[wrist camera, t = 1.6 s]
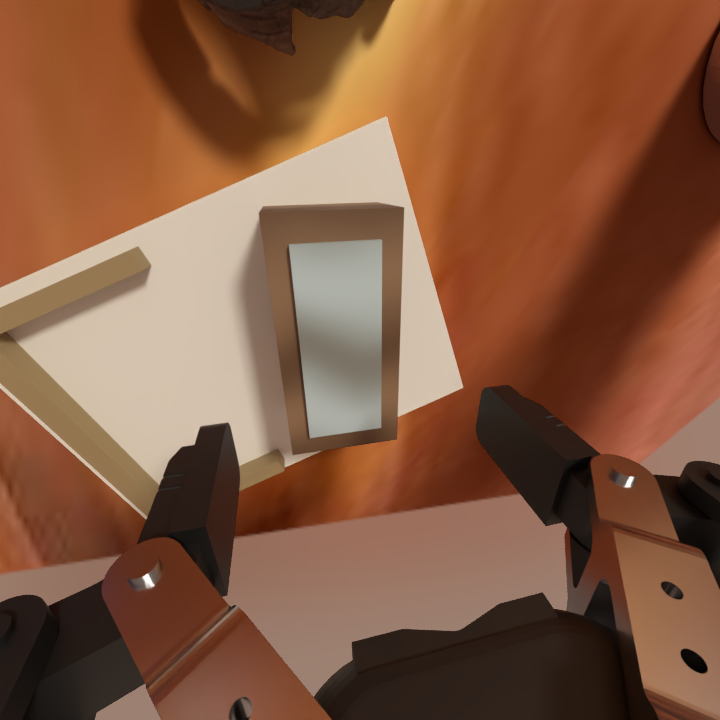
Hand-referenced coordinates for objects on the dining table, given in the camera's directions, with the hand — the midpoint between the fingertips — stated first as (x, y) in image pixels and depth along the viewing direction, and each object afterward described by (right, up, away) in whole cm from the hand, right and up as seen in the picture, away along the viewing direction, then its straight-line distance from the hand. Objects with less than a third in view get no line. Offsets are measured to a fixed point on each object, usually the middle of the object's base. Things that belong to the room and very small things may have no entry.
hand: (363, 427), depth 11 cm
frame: (-2, +5, +10) cm, 11 cm away
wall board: (-7, +3, +11) cm, 13 cm away
